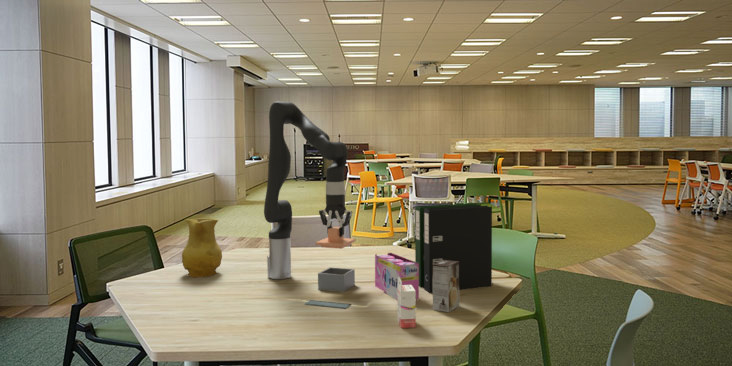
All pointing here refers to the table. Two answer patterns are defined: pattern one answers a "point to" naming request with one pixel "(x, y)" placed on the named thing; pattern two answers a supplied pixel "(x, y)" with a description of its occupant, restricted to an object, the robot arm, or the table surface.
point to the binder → (454, 242)
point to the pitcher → (201, 248)
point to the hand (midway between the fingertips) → (335, 236)
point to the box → (336, 279)
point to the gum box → (395, 273)
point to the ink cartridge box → (406, 305)
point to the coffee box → (445, 285)
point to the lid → (335, 239)
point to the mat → (327, 304)
